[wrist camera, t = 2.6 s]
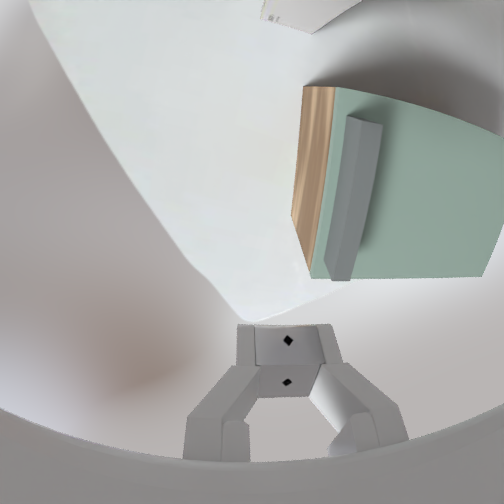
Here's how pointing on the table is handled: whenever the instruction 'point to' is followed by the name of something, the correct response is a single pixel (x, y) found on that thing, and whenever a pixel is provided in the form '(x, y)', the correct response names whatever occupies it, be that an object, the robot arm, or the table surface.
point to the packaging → (304, 12)
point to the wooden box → (312, 164)
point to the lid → (407, 193)
